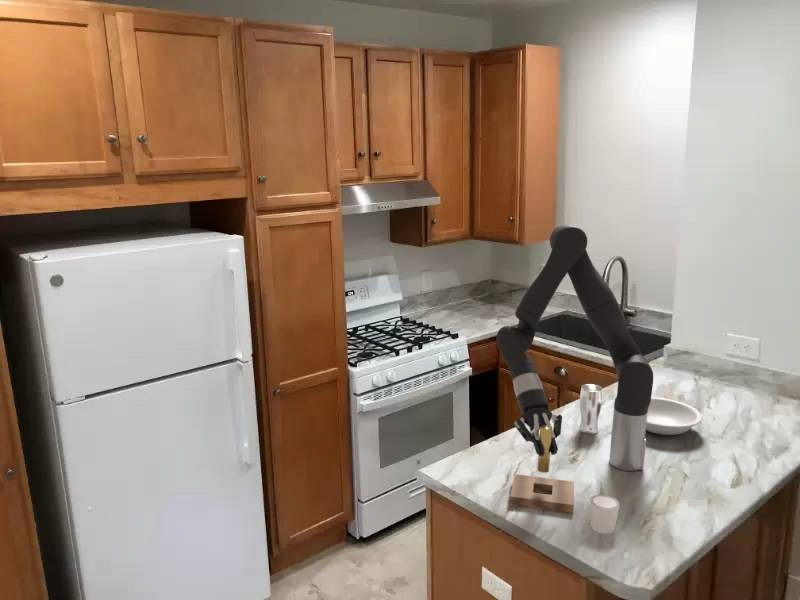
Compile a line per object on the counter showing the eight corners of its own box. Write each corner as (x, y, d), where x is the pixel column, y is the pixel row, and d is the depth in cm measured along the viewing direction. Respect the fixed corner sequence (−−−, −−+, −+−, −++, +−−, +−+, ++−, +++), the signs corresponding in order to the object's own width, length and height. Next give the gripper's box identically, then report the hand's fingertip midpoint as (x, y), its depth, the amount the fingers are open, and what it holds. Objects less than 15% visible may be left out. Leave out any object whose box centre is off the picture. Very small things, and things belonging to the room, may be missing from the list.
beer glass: (576, 432, 207) (579, 389, 204) (579, 424, 214) (582, 382, 210) (598, 436, 205) (602, 392, 201) (600, 427, 211) (604, 385, 208)
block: (573, 489, 173) (573, 481, 172) (573, 513, 162) (573, 505, 161) (513, 482, 177) (514, 473, 176) (509, 505, 166) (510, 496, 165)
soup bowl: (685, 415, 221) (687, 398, 219) (711, 447, 197) (714, 428, 196) (614, 413, 223) (616, 395, 221) (632, 444, 200) (634, 424, 198)
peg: (549, 467, 168) (552, 426, 166) (548, 473, 166) (551, 431, 163) (537, 466, 169) (540, 424, 166) (537, 471, 166) (540, 429, 164)
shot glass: (584, 519, 159) (585, 494, 158) (610, 518, 160) (612, 493, 158) (594, 536, 153) (596, 510, 151) (622, 534, 153) (624, 508, 152)
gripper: (510, 390, 168) (529, 453, 159) (558, 385, 171) (578, 447, 163) (501, 401, 174) (518, 462, 165) (547, 396, 178) (566, 456, 169)
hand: (548, 454), depth 164 cm, fingers closed on peg, 3 cm apart
